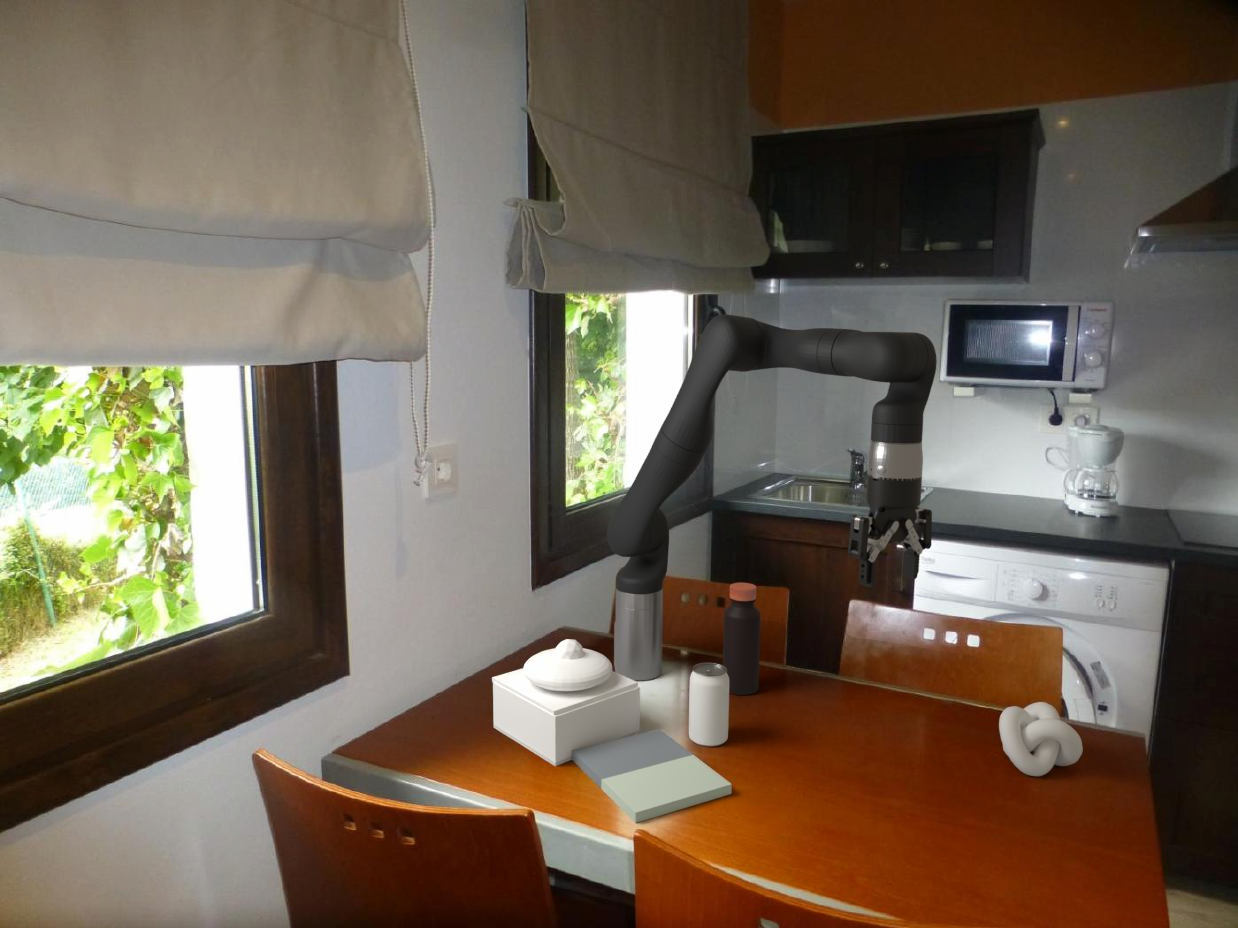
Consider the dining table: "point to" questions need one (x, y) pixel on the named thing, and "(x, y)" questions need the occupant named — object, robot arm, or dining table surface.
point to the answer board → (650, 774)
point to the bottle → (742, 640)
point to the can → (709, 704)
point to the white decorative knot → (1038, 738)
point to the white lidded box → (565, 702)
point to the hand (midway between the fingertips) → (888, 581)
